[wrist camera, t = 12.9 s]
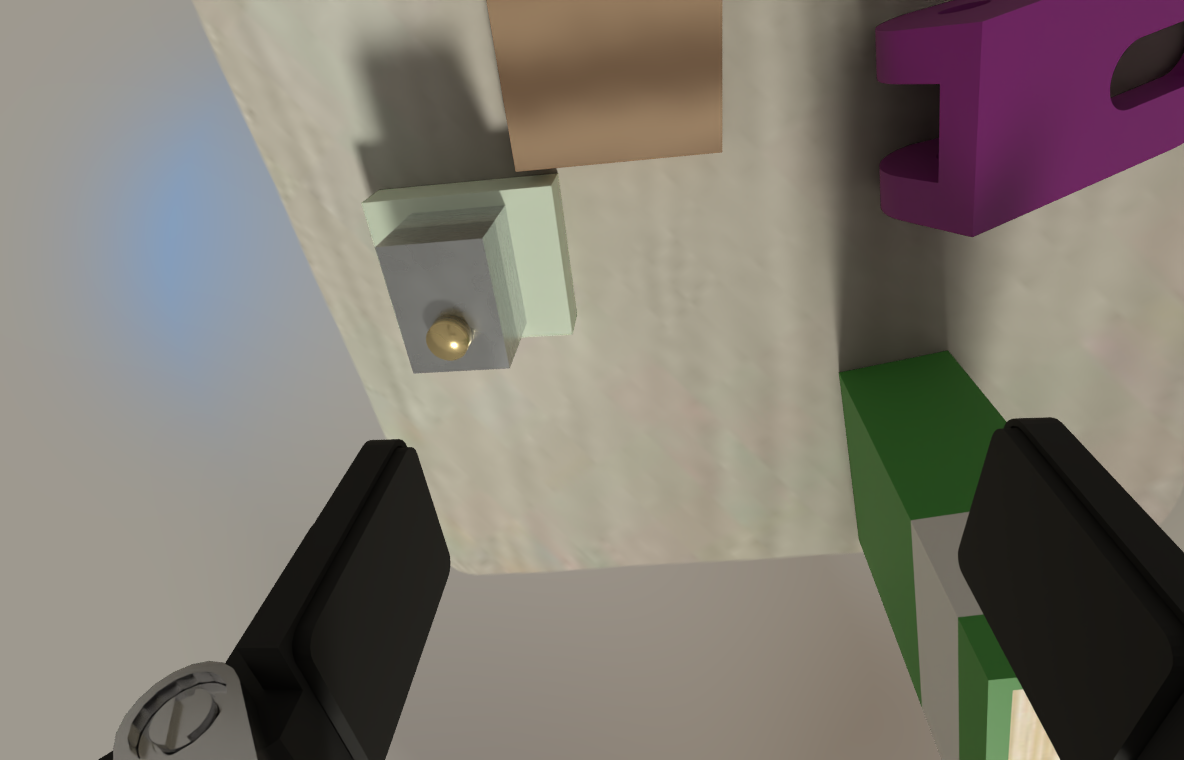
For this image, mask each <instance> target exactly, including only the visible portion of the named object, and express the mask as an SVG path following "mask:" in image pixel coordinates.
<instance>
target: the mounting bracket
mask: <svg viewBox="0 0 1184 760" xmlns="http://www.w3.org/2000/svg"><path fill="white" fill-rule="evenodd" d="M1182 21H1184V0H953V1H949V2H946V3H942V4H939V5H935V6H932V7H928V8H925V9H921V10H917V11H914V12H910V13H907V14H904V15H901V16H898V17H896V18H893V19H891V20H888V21H886V22H884V23H882V24H880V25H878V26H877V27H876V28H875V37H876V70H877V80H878V81H879V82H881V83H886V84H940V120H939V138H937V139H933V140H928V141H924V142H920V143H916V144H912V145H908V146H906V147H903V148H901V149H898V150H896V151H894V152H892V153H890V154H889V155H887V156H886V157H885V158H884V159H883V160H882V161H881V162H880V165H879V169H880V202H881V210H882V211H883V212H884V213H885V214H886V215H888V216H890V217H892V218H894V219H898V220H901V221H906V222H910V223H914V224H918V225H923V226H927V227H931V228H935V229H940V230H944V231H948V232H952V233H957V234H961V235H965V236H969V237H974V236H976V235H979V234H981V233H983V232H985V231H988V230H990V229H992V228H995V227H997V226H999V225H1001V224H1004V223H1006V222H1008V221H1010V220H1013V219H1015V218H1017V217H1019V216H1022V215H1024V214H1026V213H1029V212H1031V211H1033V210H1035V209H1038V208H1040V207H1042V206H1044V205H1047V204H1049V203H1051V202H1053V201H1056V200H1058V199H1060V198H1062V197H1065V196H1067V195H1069V194H1072V193H1074V192H1076V191H1078V190H1081V189H1083V188H1085V187H1087V186H1090V185H1092V184H1094V183H1096V182H1099V181H1101V180H1103V179H1105V178H1108V177H1110V176H1112V175H1115V174H1117V173H1119V172H1121V171H1124V170H1126V169H1128V168H1130V167H1133V166H1135V165H1137V164H1139V163H1142V162H1144V161H1146V160H1148V159H1151V158H1153V157H1155V156H1158V155H1160V154H1162V153H1164V152H1167V151H1169V150H1171V149H1173V148H1175V147H1177V146H1179V145H1181V144H1183V143H1184V53H1183V55H1182V57H1181V59H1180V60H1179V62H1178V63H1177V64H1176V66H1175V67H1174V68H1173V69H1172V70H1171V71H1170V72H1169V73H1168V74H1166V75H1165V76H1163V77H1161V78H1158V79H1156V80H1153V81H1151V82H1149V83H1146V84H1144V85H1141V86H1139V87H1136V88H1134V89H1132V90H1129V91H1127V92H1124V93H1122V94H1119V95H1117V96H1115V97H1112V98H1110V84H1111V79H1112V75H1113V72H1114V69H1115V67H1116V65H1117V63H1118V61H1119V59H1120V57H1121V56H1122V54H1123V53H1124V52H1125V50H1126V49H1127V48H1128V47H1129V46H1130V45H1131V44H1132V43H1133V42H1134V41H1136V40H1137V39H1139V38H1141V37H1144V36H1146V35H1149V34H1151V33H1154V32H1156V31H1159V30H1161V29H1164V28H1167V27H1169V26H1172V25H1174V24H1177V23H1179V22H1182Z"/></svg>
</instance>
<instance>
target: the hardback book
mask: <svg viewBox="0 0 1184 760" xmlns="http://www.w3.org/2000/svg"><path fill="white" fill-rule="evenodd" d="M839 378H840V386H841V394H842V403H843V411H844V419H845V428H846V436H847V444H848V453H849V461H850V469H851V477H852V486H853V494H854V502H855V511H856V519H857V527H858V536H859V541H860V544H861V546H862V549H863V552H864V554H865V557H866V560H867V562H868V565H869V568H870V570H871V573H872V576H873V578H874V581H875V584H876V586H877V589H878V592H879V594H880V597H881V600H882V602H883V605H884V608H885V610H886V613H887V616H888V618H889V621H890V624H891V626H892V629H893V632H894V634H895V637H896V640H897V642H898V645H899V648H900V650H901V653H902V656H903V658H904V661H905V664H906V666H907V669H908V672H909V674H910V677H911V680H912V682H913V685H914V688H915V690H916V693H917V696H918V698H919V701H920V704H921V706H922V709H923V712H924V714H925V717H926V720H927V722H928V725H929V728H930V730H931V733H932V736H933V738H934V740H935V744H936V746H937V749H938V752H939V754H940V757H941V760H1060V758H1059V756H1058V755H1057V753H1056V751H1055V749H1054V747H1053V745H1052V743H1051V741H1050V739H1049V738H1048V736H1047V734H1046V732H1045V730H1044V728H1043V726H1042V724H1041V722H1040V720H1039V719H1038V717H1037V715H1036V713H1035V711H1034V709H1033V707H1032V705H1031V703H1030V702H1029V700H1028V698H1027V696H1026V694H1025V692H1024V690H1023V688H1022V686H1021V684H1020V683H1019V681H1018V679H1017V677H1016V675H1015V673H1014V671H1013V669H1012V667H1011V666H1010V664H1009V662H1008V660H1007V658H1006V656H1005V654H1004V652H1003V650H1002V649H1001V647H1000V645H999V643H998V641H997V639H996V637H995V635H994V633H993V631H992V630H991V628H990V626H989V624H988V622H987V620H986V618H985V616H984V614H983V613H982V611H981V609H980V607H979V605H978V603H977V601H976V599H975V597H974V595H973V594H972V592H971V590H970V588H969V586H968V584H967V582H966V580H965V578H964V577H963V575H962V572H961V570H960V567H959V563H958V549H959V545H960V542H961V538H962V535H963V532H964V528H965V525H966V522H967V518H968V515H969V511H970V508H971V505H972V501H973V498H974V495H975V491H976V488H977V485H978V481H979V478H980V474H981V471H982V468H983V464H984V461H985V458H986V454H987V451H988V448H989V444H990V441H991V437H992V435H993V433H994V431H995V430H996V429H1001V428H1004V426H1005V424H1006V423H1007V422H1006V421H1005V420H1004V418H1003V417H1002V416H1001V415H1000V413H999V412H998V411H997V410H996V409H995V407H994V406H993V405H992V404H991V402H990V401H989V400H988V399H987V398H986V396H985V395H984V394H983V393H982V391H981V390H980V389H979V388H978V387H977V385H976V384H975V383H974V382H973V380H972V379H971V378H970V377H969V376H968V374H967V373H966V372H965V371H964V369H963V368H962V367H961V366H960V365H959V363H958V362H957V361H956V360H955V358H954V357H953V356H952V355H951V354H950V352H949V351H943V352H938V353H933V354H928V355H924V356H919V357H914V358H909V359H904V360H899V361H894V362H889V363H884V364H879V365H874V366H869V367H864V368H859V369H854V370H849V371H844V372H839Z"/></svg>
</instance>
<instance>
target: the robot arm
mask: <svg viewBox="0 0 1184 760" xmlns="http://www.w3.org/2000/svg"><path fill="white" fill-rule="evenodd" d="M958 563H959V567H960V570H961V572H962V575H963V577H964V578H965V580H966V582H967V584H968V586H969V588H970V590H971V592H972V594H973V595H974V597H975V599H976V601H977V603H978V605H979V607H980V609H981V611H982V613H983V614H984V616H985V618H986V620H987V622H988V624H989V626H990V628H991V630H992V631H993V633H994V635H995V637H996V639H997V641H998V643H999V645H1000V647H1001V649H1002V650H1003V652H1004V654H1005V656H1006V658H1007V660H1008V662H1009V664H1010V666H1011V667H1012V669H1013V671H1014V673H1015V675H1016V677H1017V679H1018V681H1019V683H1020V684H1021V686H1022V688H1023V690H1024V692H1025V694H1026V696H1027V698H1028V700H1029V702H1030V703H1031V705H1032V707H1033V709H1034V711H1035V713H1036V715H1037V717H1038V719H1039V720H1040V722H1041V724H1042V726H1043V728H1044V730H1045V732H1046V734H1047V736H1048V738H1049V739H1050V741H1051V743H1052V745H1053V747H1054V749H1055V751H1056V753H1057V755H1058V756H1059V758H1060V760H1184V552H1183V551H1182V550H1181V549H1180V548H1179V547H1178V546H1177V545H1176V544H1175V543H1174V542H1173V541H1172V540H1171V539H1170V537H1169V536H1168V535H1167V534H1166V533H1165V532H1164V531H1163V530H1162V529H1161V528H1160V527H1159V526H1158V525H1157V524H1156V523H1155V521H1154V520H1153V519H1152V518H1151V517H1150V516H1149V515H1148V514H1147V513H1146V512H1145V511H1144V510H1143V509H1142V508H1141V507H1140V506H1139V504H1138V503H1137V502H1136V501H1135V500H1134V499H1133V498H1132V497H1131V496H1130V495H1129V494H1128V493H1127V492H1126V491H1125V490H1124V488H1123V487H1122V486H1121V485H1120V484H1119V483H1118V482H1117V481H1116V480H1115V479H1114V478H1113V477H1112V476H1111V475H1110V474H1109V472H1108V471H1107V470H1106V469H1105V468H1104V467H1103V466H1102V465H1101V464H1100V463H1099V462H1098V461H1097V460H1096V459H1095V458H1094V457H1093V455H1092V454H1091V453H1090V452H1089V451H1088V450H1087V449H1086V448H1085V447H1084V446H1083V445H1082V444H1081V443H1080V442H1079V441H1078V439H1077V438H1076V437H1075V436H1074V435H1073V434H1072V433H1071V432H1070V431H1069V430H1068V429H1067V428H1066V427H1065V426H1064V425H1063V424H1062V423H1061V422H1060V421H1059V420H1058V419H1055V418H1051V417H1049V418H1019V419H1011V420H1009V421H1008V422H1007V423H1006V424H1005V426H1004V428H1001V429H996V430H995V431H994V433H993V435H992V437H991V441H990V444H989V448H988V451H987V454H986V458H985V461H984V464H983V468H982V471H981V474H980V478H979V481H978V485H977V488H976V491H975V495H974V498H973V501H972V505H971V508H970V511H969V515H968V518H967V522H966V525H965V528H964V532H963V535H962V538H961V542H960V545H959V549H958ZM449 572H450V555H449V551H448V548H447V545H446V542H445V539H444V536H443V532H442V529H441V526H440V523H439V520H438V517H437V514H436V511H435V508H434V505H433V501H432V498H431V495H430V492H429V489H428V486H427V483H426V480H425V477H424V473H423V470H422V467H421V464H420V461H419V458H418V455H417V452H416V450H415V449H414V448H412V447H407V446H406V443H405V442H404V441H403V440H400V439H392V440H370V441H367V442H366V443H365V444H364V446H363V447H362V448H361V450H360V452H359V453H358V455H357V456H356V458H355V459H354V461H353V463H352V464H351V466H350V467H349V469H348V471H347V472H346V474H345V475H344V477H343V479H342V480H341V482H340V483H339V485H338V487H337V488H336V490H335V491H334V493H333V495H332V496H331V498H330V499H329V501H328V502H327V504H326V506H325V507H324V509H323V510H322V512H321V513H320V515H319V517H318V518H317V520H316V522H315V523H314V524H313V526H312V527H311V528H310V530H309V531H308V533H307V534H306V536H305V537H304V539H303V541H302V542H301V544H300V545H299V547H298V549H297V550H296V552H295V553H294V555H293V557H292V558H291V560H290V561H289V563H288V564H287V566H286V568H285V569H284V571H283V572H282V574H281V576H280V577H279V579H278V580H277V582H276V583H275V585H274V587H273V588H272V590H271V592H270V593H269V595H268V596H267V598H266V599H265V601H264V602H263V604H262V606H261V607H260V609H259V610H258V612H257V614H256V615H255V617H254V619H253V620H252V622H251V623H250V625H249V626H248V628H247V629H246V631H245V633H244V634H243V636H242V637H241V639H240V641H239V642H238V644H237V645H236V647H235V649H234V650H233V652H232V653H231V655H230V656H229V658H228V660H227V661H226V663H222V662H213V661H207V662H202V663H196V664H192V665H190V666H187V667H185V668H182V669H180V670H177V671H175V672H173V673H171V674H170V675H168V676H167V677H165V678H164V679H162V680H160V681H159V682H157V683H156V684H155V685H153V686H152V687H151V688H150V689H149V690H148V691H147V692H146V693H145V694H143V695H142V696H141V697H140V698H139V699H138V700H137V701H136V703H135V704H134V705H133V706H132V708H131V709H130V710H129V711H128V713H127V714H126V715H125V717H124V719H123V721H122V723H121V725H120V726H119V729H118V731H117V732H116V736H115V742H114V748H113V751H112V752H110V753H108V754H107V755H105V756H104V757H102V758H100V759H99V760H385V758H386V755H387V753H388V750H389V747H390V744H391V741H392V738H393V735H394V733H395V730H396V727H397V724H398V721H399V718H400V715H401V712H402V709H403V706H404V704H405V701H406V698H407V695H408V691H409V689H410V686H411V683H412V680H413V677H414V675H415V672H416V669H417V665H418V663H419V660H420V657H421V654H422V651H423V648H424V646H425V643H426V640H427V637H428V633H429V631H430V628H431V625H432V622H433V619H434V617H435V614H436V611H437V608H438V605H439V602H440V599H441V596H442V593H443V590H444V587H445V585H446V582H447V579H448V576H449Z"/></svg>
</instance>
